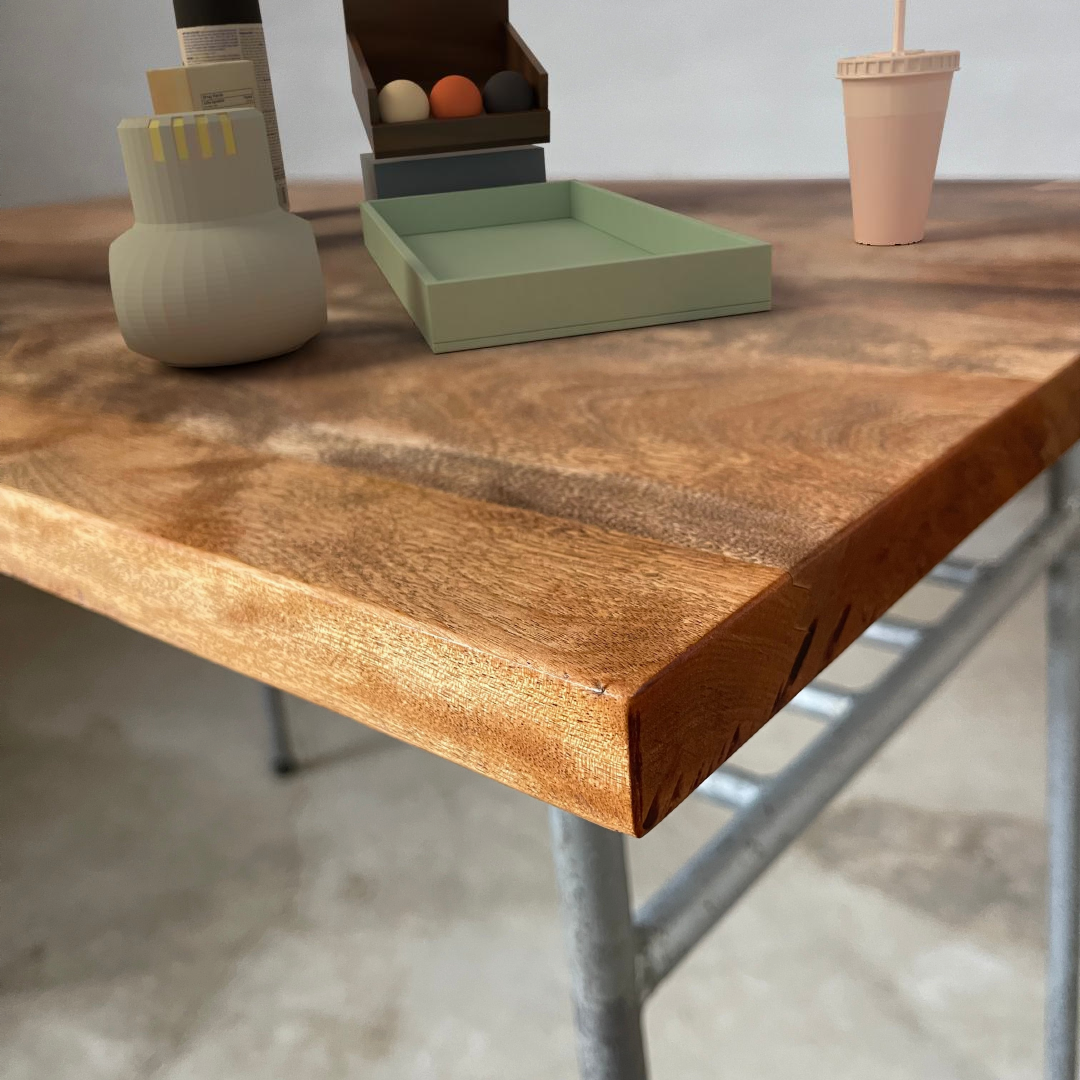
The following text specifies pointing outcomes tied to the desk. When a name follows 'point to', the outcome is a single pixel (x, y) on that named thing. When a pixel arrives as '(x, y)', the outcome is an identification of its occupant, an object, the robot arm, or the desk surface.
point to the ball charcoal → (507, 93)
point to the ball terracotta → (455, 98)
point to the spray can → (233, 57)
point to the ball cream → (402, 102)
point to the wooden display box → (440, 72)
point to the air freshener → (211, 245)
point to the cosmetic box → (204, 87)
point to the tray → (556, 263)
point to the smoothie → (894, 135)
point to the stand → (452, 171)
